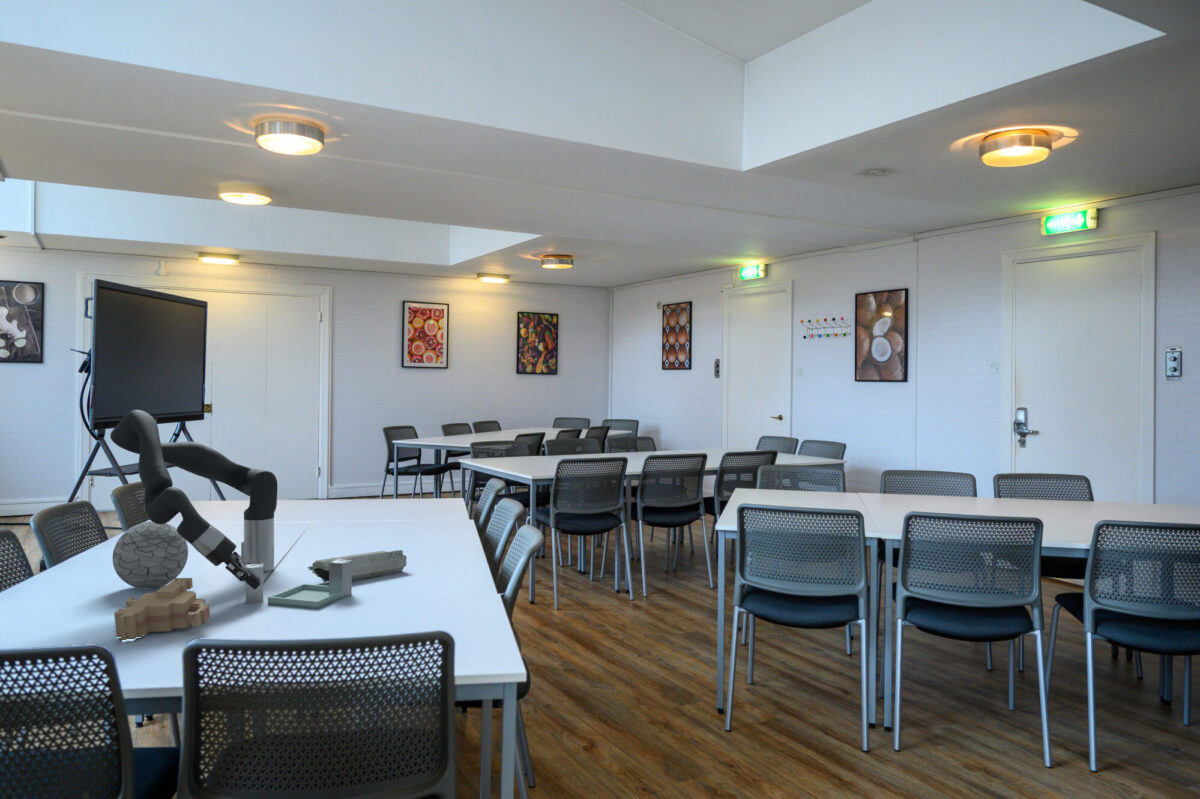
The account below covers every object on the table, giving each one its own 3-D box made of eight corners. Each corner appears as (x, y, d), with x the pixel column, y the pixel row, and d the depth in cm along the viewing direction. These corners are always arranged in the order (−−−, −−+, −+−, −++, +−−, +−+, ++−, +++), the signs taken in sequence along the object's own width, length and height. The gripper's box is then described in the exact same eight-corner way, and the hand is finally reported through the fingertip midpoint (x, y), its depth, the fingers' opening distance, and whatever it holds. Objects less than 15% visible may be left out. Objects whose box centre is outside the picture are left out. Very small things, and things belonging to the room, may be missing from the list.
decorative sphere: (96, 592, 234) (96, 524, 233) (155, 577, 252) (155, 514, 252) (146, 599, 227) (146, 529, 227) (203, 583, 245) (203, 518, 245)
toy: (146, 578, 207) (104, 610, 187) (224, 577, 208) (190, 609, 189) (149, 613, 209) (108, 649, 189) (226, 612, 210) (193, 648, 190)
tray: (267, 604, 223) (267, 597, 223) (303, 590, 238) (303, 583, 238) (317, 608, 219) (317, 601, 218) (350, 594, 234) (350, 587, 234)
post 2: (328, 596, 231) (329, 562, 231) (338, 592, 235) (338, 559, 235) (342, 598, 230) (342, 563, 230) (351, 594, 234) (351, 560, 234)
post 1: (245, 603, 223) (245, 568, 223) (246, 599, 228) (246, 564, 227) (262, 602, 225) (262, 566, 225) (263, 598, 229) (263, 563, 229)
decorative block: (406, 573, 262) (406, 550, 262) (320, 589, 240) (320, 564, 240) (393, 569, 268) (394, 546, 267) (308, 584, 246) (308, 560, 246)
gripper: (205, 550, 228) (249, 587, 232) (200, 560, 215) (247, 599, 219) (226, 530, 230) (268, 567, 234) (222, 540, 216) (268, 578, 221)
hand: (258, 583), depth 227 cm, fingers open, 8 cm apart
